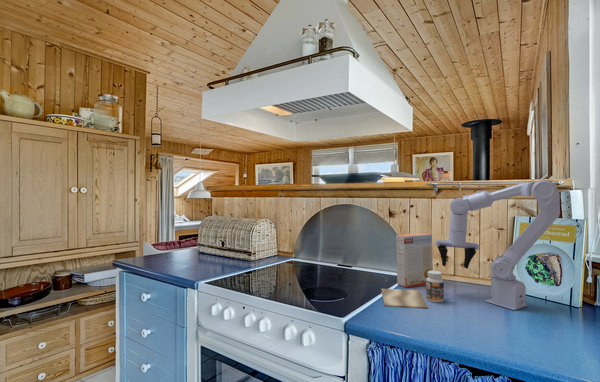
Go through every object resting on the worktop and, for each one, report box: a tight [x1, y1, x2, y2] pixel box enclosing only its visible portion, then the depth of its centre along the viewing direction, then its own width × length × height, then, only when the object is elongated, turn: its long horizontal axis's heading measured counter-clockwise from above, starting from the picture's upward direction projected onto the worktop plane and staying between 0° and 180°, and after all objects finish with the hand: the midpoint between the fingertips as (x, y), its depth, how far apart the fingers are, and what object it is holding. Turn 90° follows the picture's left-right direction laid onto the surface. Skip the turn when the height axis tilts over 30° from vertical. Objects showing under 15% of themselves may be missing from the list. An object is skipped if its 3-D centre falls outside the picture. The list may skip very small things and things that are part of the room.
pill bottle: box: [425, 270, 445, 303], centre depth 113 cm, size 6×6×10 cm
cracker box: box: [395, 232, 434, 288], centre depth 132 cm, size 14×6×21 cm, turn 109°
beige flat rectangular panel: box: [380, 288, 429, 309], centre depth 115 cm, size 14×18×1 cm
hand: (454, 266), depth 118 cm, fingers open, 7 cm apart
